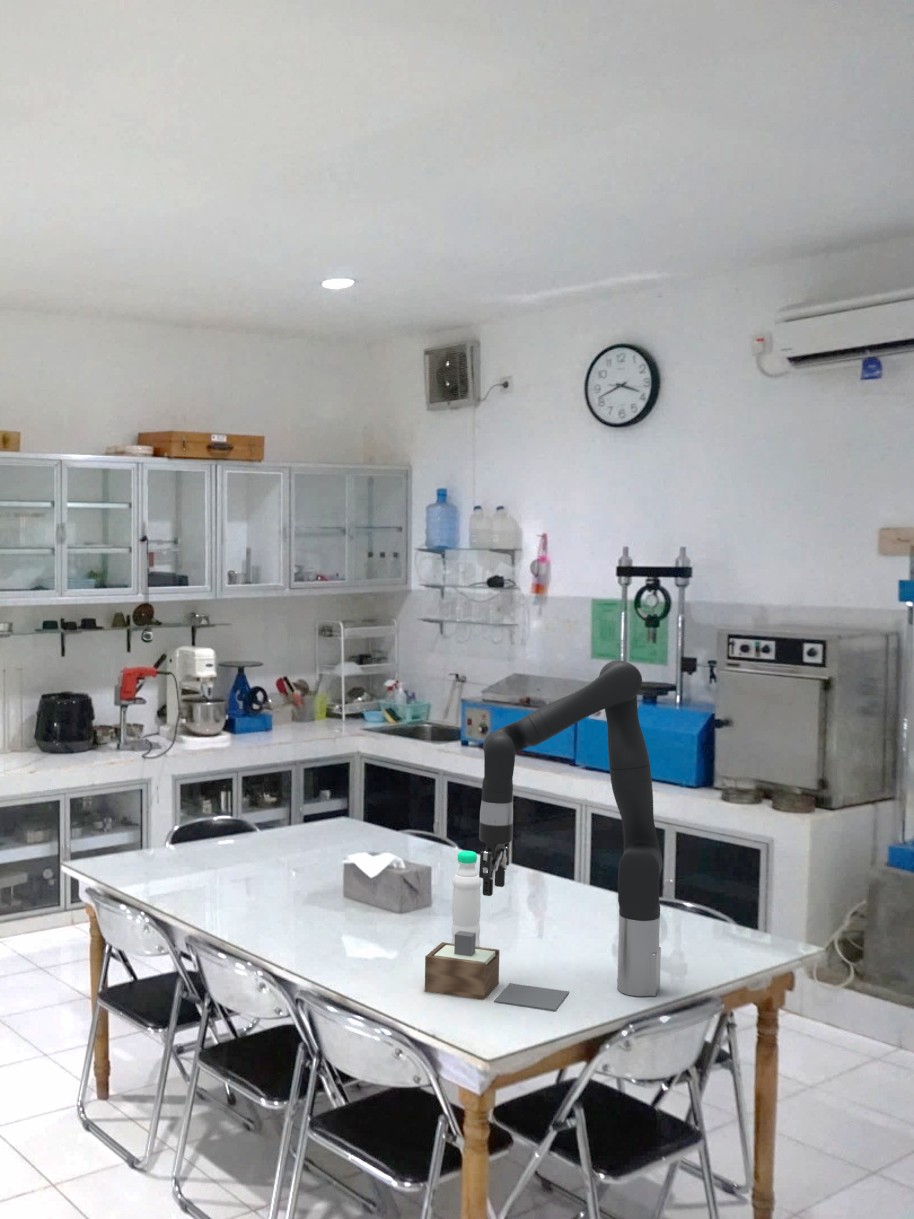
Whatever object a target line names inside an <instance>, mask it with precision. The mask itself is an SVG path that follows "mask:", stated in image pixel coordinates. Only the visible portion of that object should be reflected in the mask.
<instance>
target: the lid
mask: <svg viewBox="0 0 914 1219" xmlns="http://www.w3.org/2000/svg"><path fill="white" fill-rule="evenodd" d="M475 943H476V933H473V932H465V931H458V932H457V933H456V934H455V945H454V946H451V945H445V946H444V947H443V948H442V949H441V950H439V951H438V952H437V953H436V954H435V955H434V956H437V957H445V958H452V959H460V960H467V961H474V962H482V963H486V964H487V963H488V962H489V961H490V960H491V959H492V958H493V957H494V956H495V951H489V950H481V949H475Z"/></svg>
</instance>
